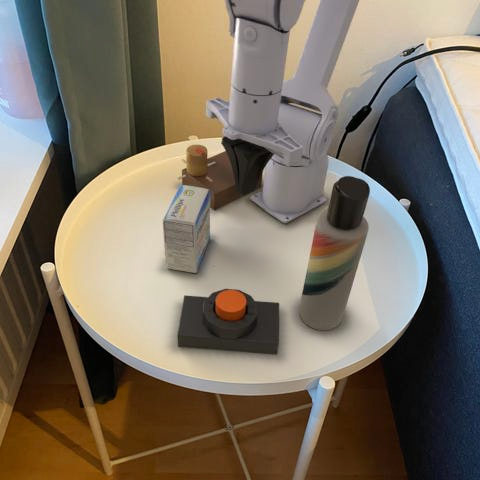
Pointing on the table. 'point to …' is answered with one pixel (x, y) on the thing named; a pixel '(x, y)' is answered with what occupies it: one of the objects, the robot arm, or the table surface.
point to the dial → (196, 160)
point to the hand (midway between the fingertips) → (245, 190)
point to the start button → (230, 305)
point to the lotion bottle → (335, 254)
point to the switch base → (229, 326)
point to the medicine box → (187, 228)
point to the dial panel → (216, 180)
